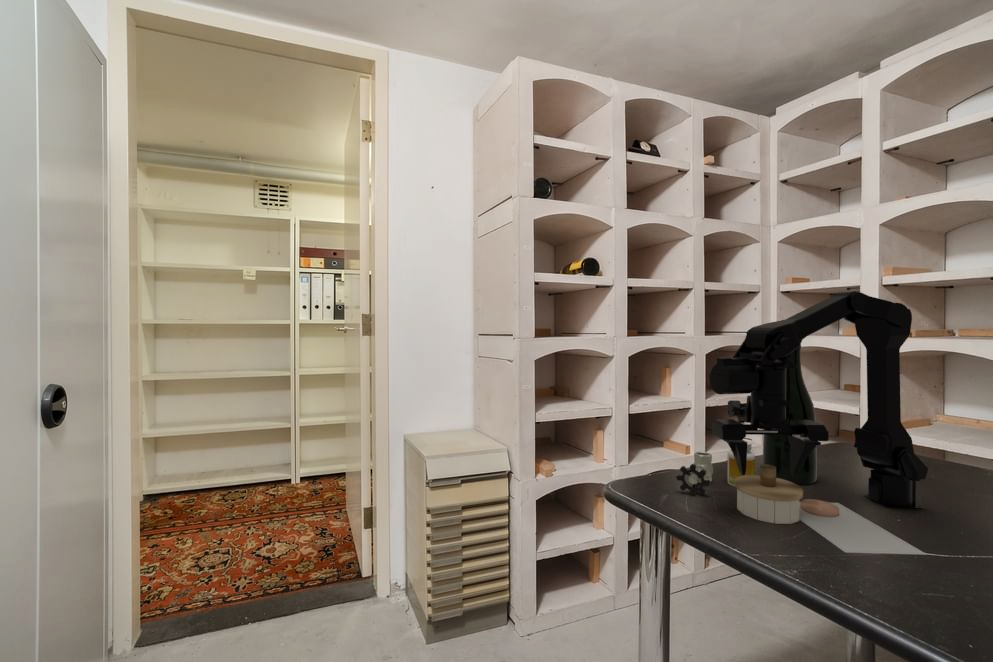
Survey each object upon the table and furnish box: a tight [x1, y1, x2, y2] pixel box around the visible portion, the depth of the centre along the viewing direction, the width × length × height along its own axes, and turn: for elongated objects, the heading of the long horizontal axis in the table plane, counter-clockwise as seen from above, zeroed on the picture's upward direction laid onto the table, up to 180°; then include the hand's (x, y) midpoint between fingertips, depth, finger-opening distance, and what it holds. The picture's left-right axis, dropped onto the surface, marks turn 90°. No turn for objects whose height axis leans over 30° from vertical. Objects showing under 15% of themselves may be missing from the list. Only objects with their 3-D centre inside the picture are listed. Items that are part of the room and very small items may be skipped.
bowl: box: [736, 488, 801, 525], centre depth 86 cm, size 10×10×4 cm
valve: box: [675, 451, 714, 497], centre depth 100 cm, size 7×7×12 cm
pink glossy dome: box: [800, 498, 839, 517], centre depth 86 cm, size 6×6×1 cm
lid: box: [734, 463, 804, 502], centre depth 86 cm, size 11×11×4 cm
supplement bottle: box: [726, 440, 756, 487], centre depth 100 cm, size 5×5×10 cm
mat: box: [799, 501, 928, 556], centre depth 80 cm, size 12×20×1 cm, turn 176°
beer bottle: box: [762, 343, 818, 486], centre depth 104 cm, size 10×10×33 cm
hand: (767, 475), depth 86 cm, fingers open, 9 cm apart
